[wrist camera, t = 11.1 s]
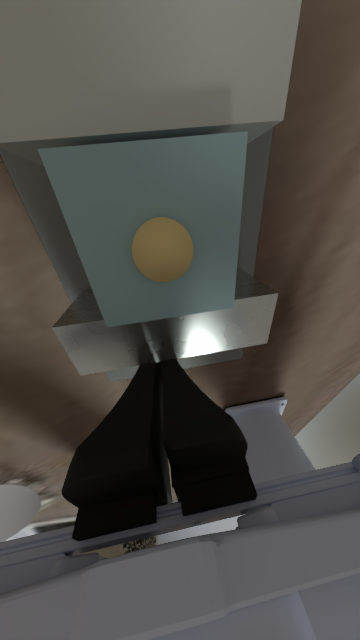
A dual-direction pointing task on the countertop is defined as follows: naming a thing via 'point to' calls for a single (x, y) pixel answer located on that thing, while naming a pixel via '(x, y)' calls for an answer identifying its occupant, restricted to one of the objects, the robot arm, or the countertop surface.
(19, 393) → the countertop surface
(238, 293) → the block
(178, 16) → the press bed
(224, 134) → the housing
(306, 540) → the robot arm
